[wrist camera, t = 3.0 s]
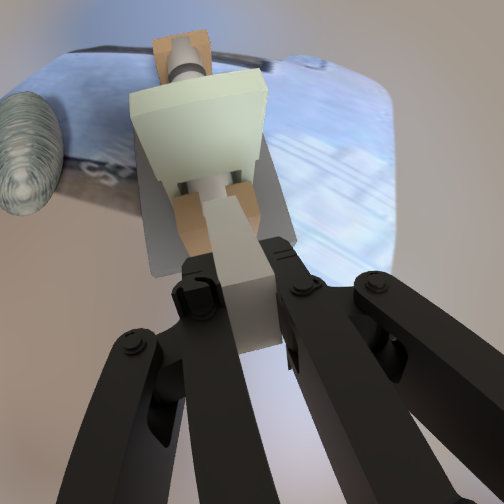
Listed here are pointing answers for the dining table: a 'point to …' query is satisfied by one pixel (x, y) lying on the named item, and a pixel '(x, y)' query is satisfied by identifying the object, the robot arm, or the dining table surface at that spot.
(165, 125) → the sleeve
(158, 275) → the rig
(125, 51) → the dining table surface
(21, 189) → the grey rounded lump
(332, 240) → the dining table surface
